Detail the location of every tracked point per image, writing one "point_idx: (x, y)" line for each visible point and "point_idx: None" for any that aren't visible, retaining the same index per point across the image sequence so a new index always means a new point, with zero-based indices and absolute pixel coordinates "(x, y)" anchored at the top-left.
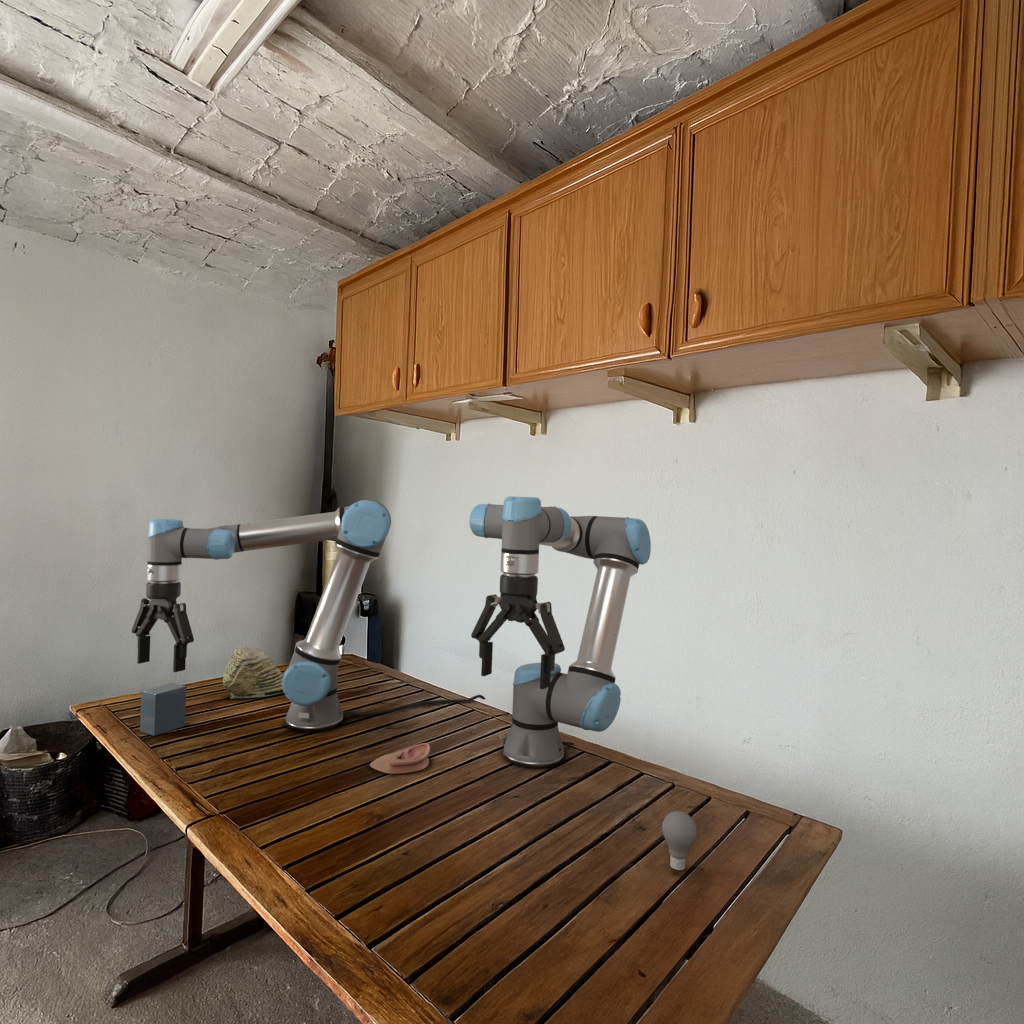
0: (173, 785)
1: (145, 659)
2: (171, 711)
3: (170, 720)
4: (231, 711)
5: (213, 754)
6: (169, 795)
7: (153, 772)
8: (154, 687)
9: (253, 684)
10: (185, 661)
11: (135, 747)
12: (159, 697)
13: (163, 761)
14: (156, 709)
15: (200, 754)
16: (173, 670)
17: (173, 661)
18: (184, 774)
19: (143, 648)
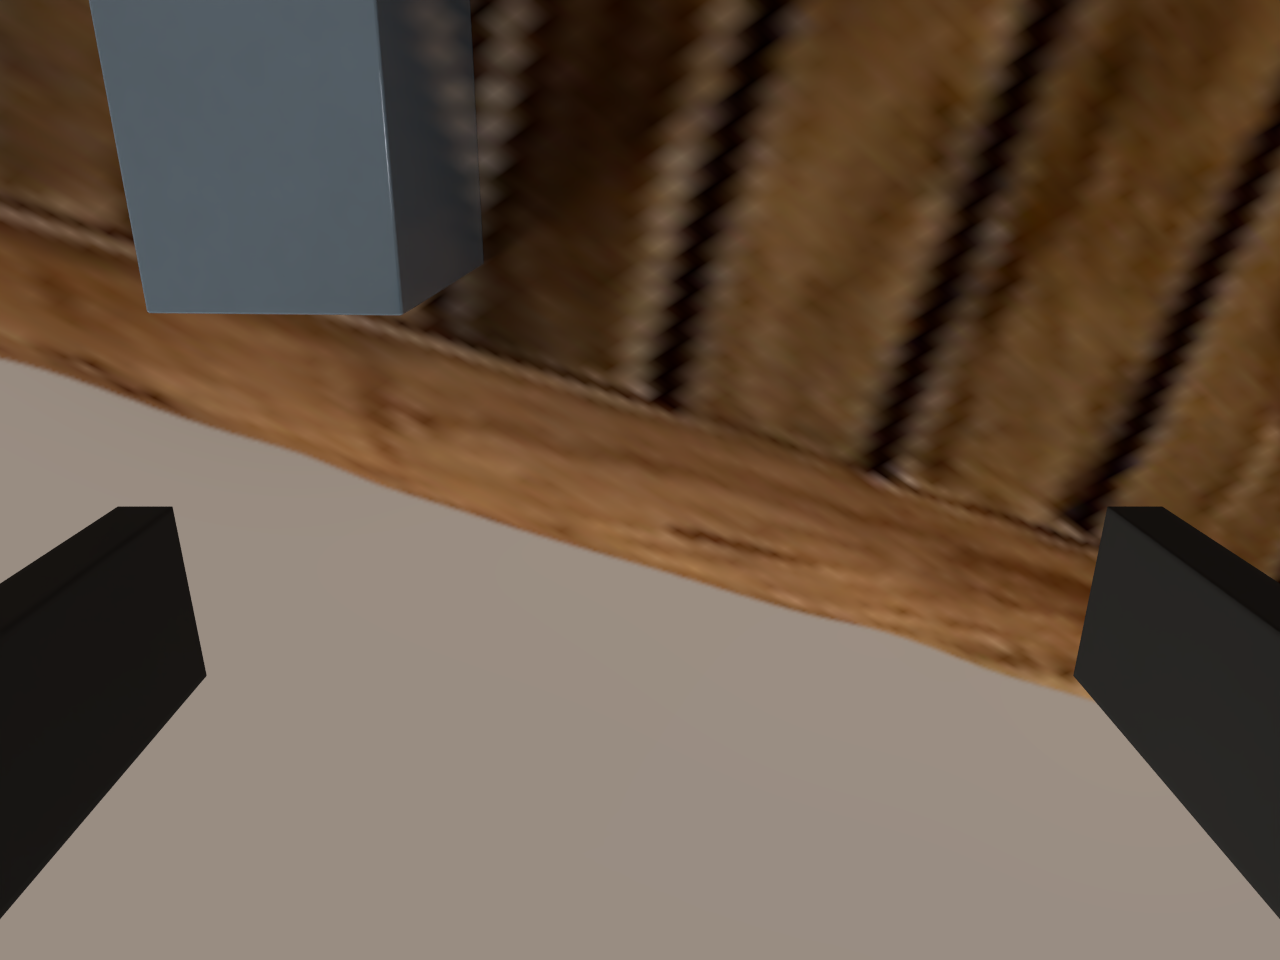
0: None
1: (158, 602)
2: (442, 108)
3: (461, 122)
4: None
5: (1122, 260)
6: None
7: (991, 608)
8: (128, 151)
9: None
10: (1268, 578)
11: (576, 452)
12: (409, 259)
13: (917, 494)
14: (439, 275)
15: (1041, 307)
16: (1096, 691)
17: (1177, 795)
18: None
19: (21, 788)
